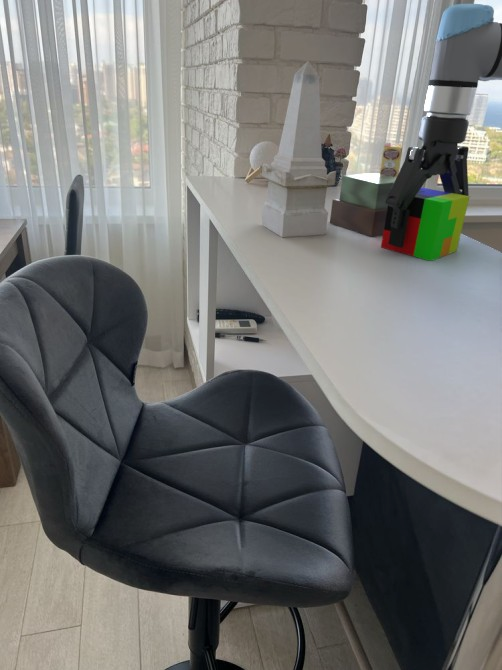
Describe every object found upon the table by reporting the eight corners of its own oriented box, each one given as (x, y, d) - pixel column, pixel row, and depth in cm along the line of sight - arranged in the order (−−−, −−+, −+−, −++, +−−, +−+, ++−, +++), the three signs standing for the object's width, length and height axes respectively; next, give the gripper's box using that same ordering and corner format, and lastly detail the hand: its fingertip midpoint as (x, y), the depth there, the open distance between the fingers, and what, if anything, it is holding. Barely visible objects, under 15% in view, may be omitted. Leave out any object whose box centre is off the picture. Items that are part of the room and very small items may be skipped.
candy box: (391, 218, 116) (403, 147, 109) (372, 216, 117) (383, 145, 110) (392, 210, 123) (403, 143, 117) (374, 208, 124) (384, 142, 117)
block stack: (410, 230, 106) (420, 181, 102) (371, 236, 100) (379, 185, 95) (368, 217, 115) (375, 172, 110) (329, 223, 108) (335, 174, 104)
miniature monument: (328, 234, 99) (349, 62, 86) (280, 238, 96) (295, 58, 82) (303, 221, 108) (319, 63, 95) (259, 224, 104) (268, 59, 91)
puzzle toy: (408, 238, 100) (418, 186, 96) (456, 251, 94) (469, 196, 89) (380, 247, 94) (390, 192, 89) (430, 260, 87) (443, 202, 83)
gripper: (470, 115, 93) (444, 229, 102) (377, 112, 80) (357, 243, 89) (508, 118, 87) (477, 238, 97) (415, 116, 74) (390, 255, 84)
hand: (420, 241), depth 93 cm, fingers open, 13 cm apart
